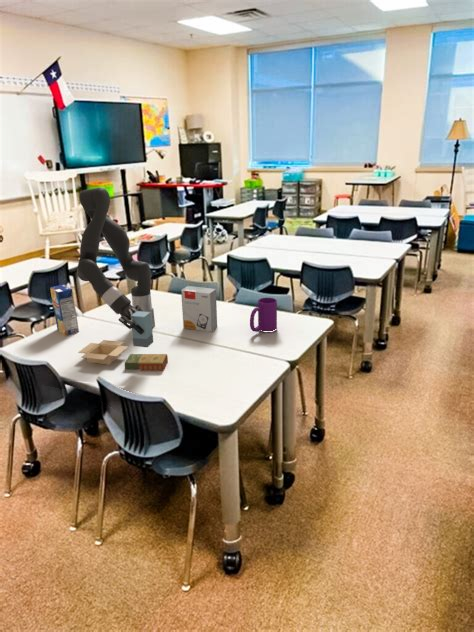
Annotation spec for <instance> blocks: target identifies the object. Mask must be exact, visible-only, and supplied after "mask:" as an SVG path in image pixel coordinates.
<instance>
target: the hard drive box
mask: <svg viewBox="0 0 474 632" xmlns="http://www.w3.org/2000/svg"><path fill="white" fill-rule="evenodd" d="M180 294H181V309H182V325H183V329H188V330H195V331H200V332H206V333H207V332H208V333H213V331H215V330H216V329H217V328H218V316H217V315H218V313H217V312H218V310H217V289H216V288H210V287H209V288H208V287H202V286H201V287H199V286H191V285H187V286H186V287H184V288H182V289H181V290H180ZM216 327H217V328H216Z"/></svg>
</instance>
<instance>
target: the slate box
mask: <svg viewBox="0 0 474 632" xmlns="http://www.w3.org/2000/svg"><path fill="white" fill-rule="evenodd" d="M131 317H133V318H134V319H135V321H136V322H137V324H138V325H139V326H140V327H141V328H142V329H143V330H144V333H143V334H142V335H140V334H139V333H138V332H137V331H136V330H135V329H133V328H131V333H132V345H133V347H138V348H149V347H150V346H151V345H152V344H153V343H154V333H153V327H152V322H151V312H142V311H137V312H135V313H134V314H133V315H132V316H131ZM131 319H132V318H131ZM132 323H133V322H132Z"/></svg>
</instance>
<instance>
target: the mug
mask: <svg viewBox="0 0 474 632" xmlns="http://www.w3.org/2000/svg"><path fill="white" fill-rule="evenodd" d="M256 313H257V323H258V324H257V326H255V316H256ZM249 316H250V318H249V327H250V330H251V331H252V332H256V333H258V332H261V331H260V330H262V331H273V330H275V329H277V330H278V321H277V320H278V299H276V298H275V297H274V298H273V297H262V298H259V299H258V301H257V307H255V308H253V310H251V312H250V315H249Z"/></svg>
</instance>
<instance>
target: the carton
mask: <svg viewBox="0 0 474 632" xmlns="http://www.w3.org/2000/svg"><path fill="white" fill-rule="evenodd" d="M168 360H169V359H168V354H167V353H149V354H148V353H135V354H134V353H130V354H129V356H128V357H127V358H126V360H125V361H124V369H125V370H136V371H138V370H139V372H140V371H141V372H164V371H165V369H166V367H167V364H168V363H169V362H168Z"/></svg>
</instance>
